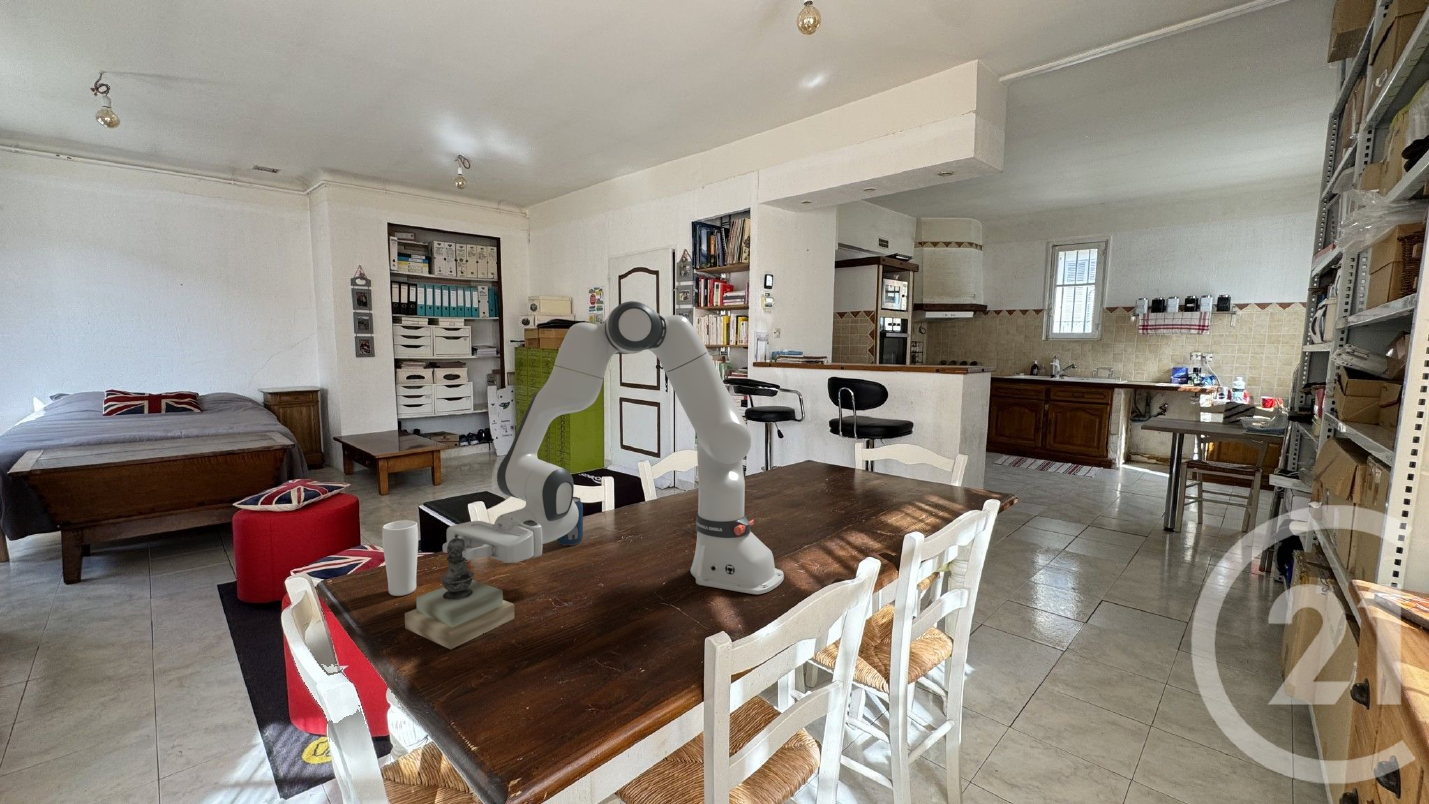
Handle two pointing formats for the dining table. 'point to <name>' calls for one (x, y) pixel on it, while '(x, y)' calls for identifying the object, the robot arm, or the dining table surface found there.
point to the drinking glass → (401, 556)
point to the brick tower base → (460, 630)
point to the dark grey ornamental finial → (457, 572)
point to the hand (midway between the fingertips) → (454, 552)
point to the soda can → (577, 531)
